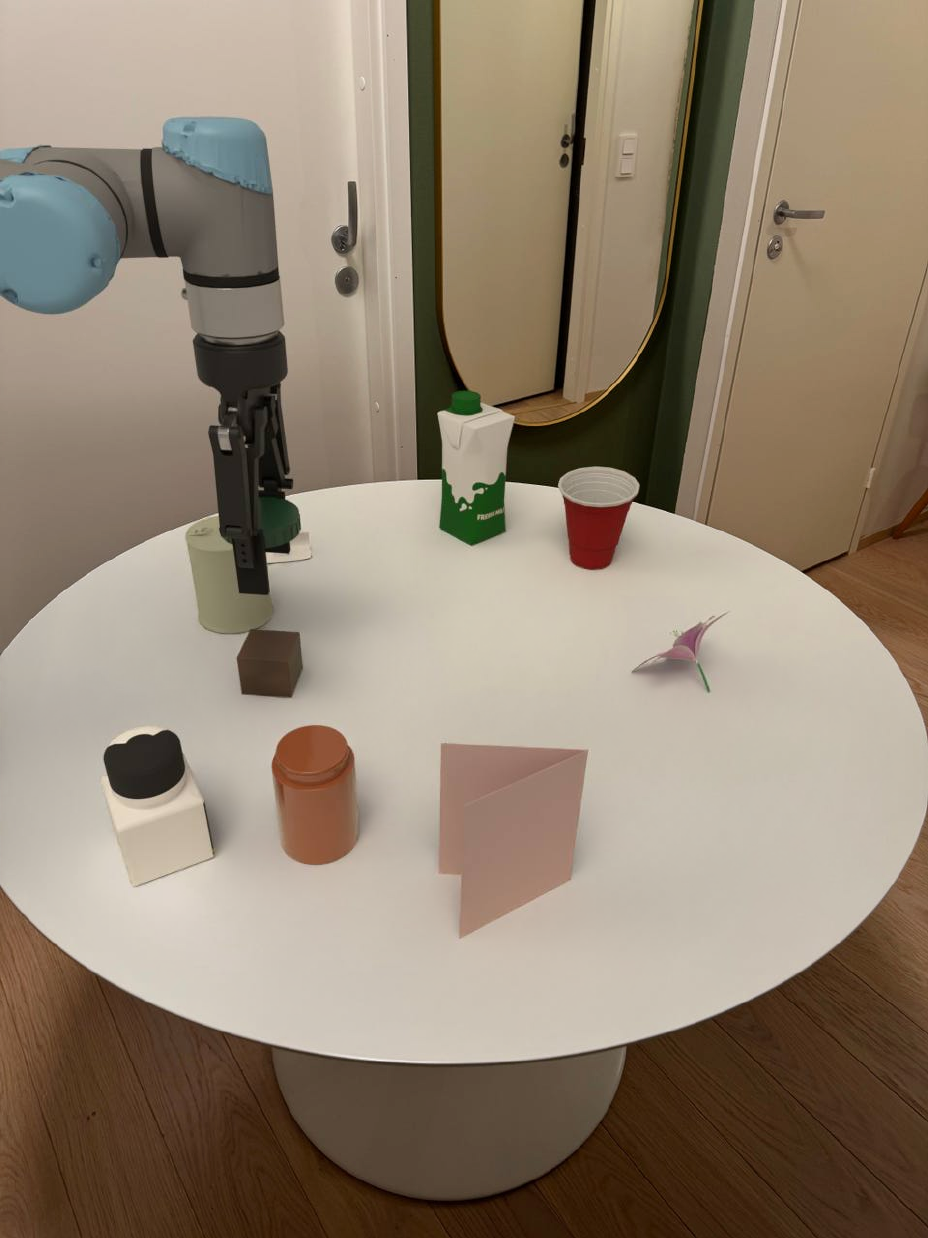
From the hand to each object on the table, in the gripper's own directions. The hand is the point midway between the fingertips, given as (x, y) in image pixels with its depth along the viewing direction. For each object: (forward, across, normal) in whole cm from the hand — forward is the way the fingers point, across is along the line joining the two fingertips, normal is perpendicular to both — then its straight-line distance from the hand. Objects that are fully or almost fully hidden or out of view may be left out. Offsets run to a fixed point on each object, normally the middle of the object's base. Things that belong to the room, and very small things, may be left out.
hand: (265, 570), depth 85 cm
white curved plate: (+17, -32, -8) cm, 38 cm away
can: (+17, -17, -10) cm, 26 cm away
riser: (+17, -4, -2) cm, 18 cm away
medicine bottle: (+17, +20, -5) cm, 27 cm away
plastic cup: (+17, -37, +35) cm, 53 cm away
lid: (-6, 0, 0) cm, 6 cm away
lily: (+17, -11, +44) cm, 48 cm away
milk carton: (+17, -44, +18) cm, 50 cm away
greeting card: (+17, +23, +25) cm, 38 cm away
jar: (+17, +18, +8) cm, 26 cm away
